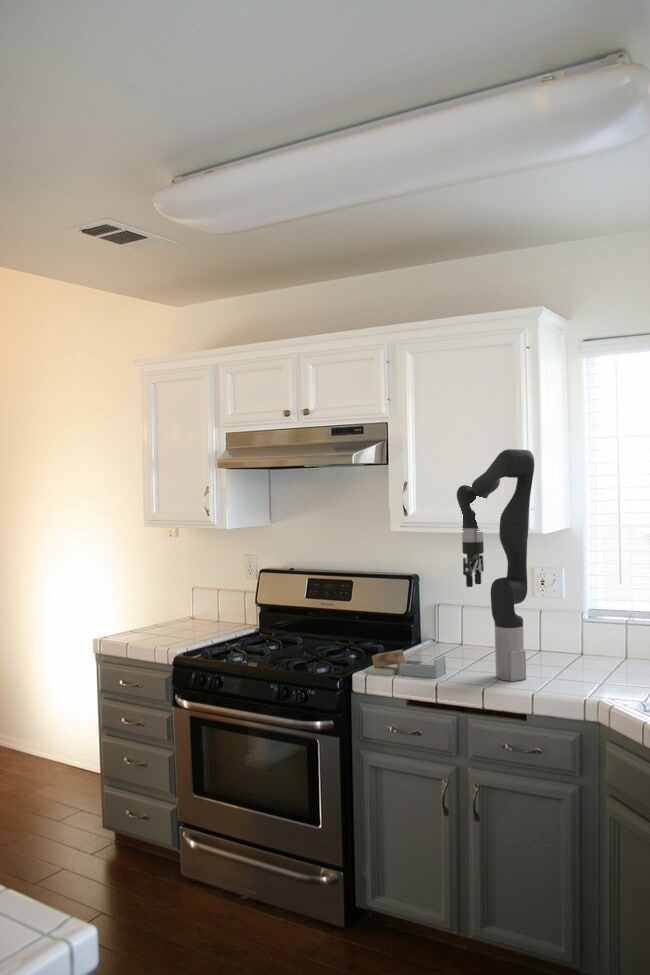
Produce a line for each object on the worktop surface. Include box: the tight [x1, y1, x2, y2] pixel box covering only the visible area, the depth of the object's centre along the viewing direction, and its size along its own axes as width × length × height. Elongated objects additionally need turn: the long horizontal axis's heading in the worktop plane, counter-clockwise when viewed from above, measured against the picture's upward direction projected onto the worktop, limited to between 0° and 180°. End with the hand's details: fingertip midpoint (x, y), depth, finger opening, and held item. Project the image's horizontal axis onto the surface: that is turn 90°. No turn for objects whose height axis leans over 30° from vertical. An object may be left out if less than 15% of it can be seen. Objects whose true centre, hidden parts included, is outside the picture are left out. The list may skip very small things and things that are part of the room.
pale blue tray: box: [396, 655, 447, 679], centre depth 285 cm, size 14×8×6 cm, turn 59°
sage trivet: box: [364, 664, 397, 676], centre depth 290 cm, size 10×10×1 cm
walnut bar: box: [371, 649, 406, 668], centre depth 290 cm, size 10×4×4 cm, turn 57°
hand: (473, 585), depth 302 cm, fingers open, 8 cm apart
